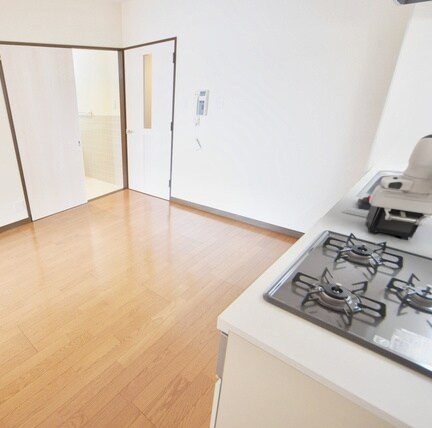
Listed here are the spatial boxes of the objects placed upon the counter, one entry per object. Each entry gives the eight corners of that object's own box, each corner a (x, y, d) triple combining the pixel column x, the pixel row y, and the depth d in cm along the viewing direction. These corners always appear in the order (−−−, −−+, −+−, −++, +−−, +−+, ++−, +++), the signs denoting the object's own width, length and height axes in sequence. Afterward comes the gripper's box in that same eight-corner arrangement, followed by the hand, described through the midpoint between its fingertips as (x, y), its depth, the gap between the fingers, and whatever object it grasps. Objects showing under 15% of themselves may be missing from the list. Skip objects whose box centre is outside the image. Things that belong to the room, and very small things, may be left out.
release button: (375, 199, 130) (376, 196, 129) (376, 202, 127) (377, 198, 126) (366, 198, 131) (367, 195, 131) (367, 200, 129) (368, 197, 128)
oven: (409, 241, 103) (425, 206, 98) (367, 233, 110) (380, 200, 104) (403, 228, 112) (418, 195, 106) (365, 221, 119) (376, 190, 113)
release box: (378, 206, 132) (382, 198, 130) (381, 212, 126) (384, 204, 124) (357, 202, 136) (359, 195, 134) (358, 208, 130) (361, 200, 128)
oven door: (414, 247, 98) (429, 220, 92) (370, 238, 104) (382, 213, 98) (411, 236, 102) (426, 209, 96) (370, 228, 109) (381, 203, 102)
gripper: (462, 186, 87) (442, 225, 93) (376, 177, 99) (363, 212, 104) (469, 192, 83) (448, 232, 89) (378, 182, 94) (364, 218, 100)
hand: (401, 221), depth 97 cm, fingers closed on oven door, 6 cm apart
